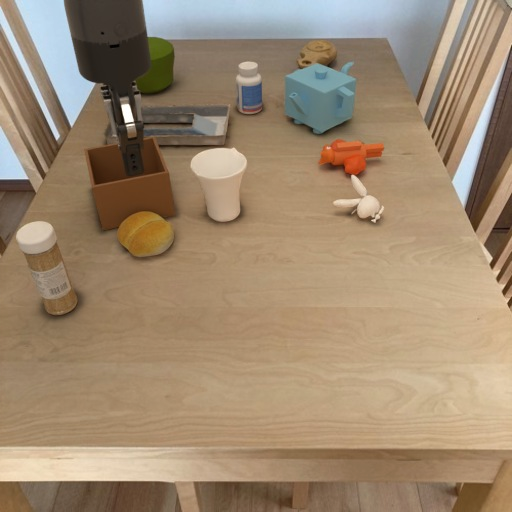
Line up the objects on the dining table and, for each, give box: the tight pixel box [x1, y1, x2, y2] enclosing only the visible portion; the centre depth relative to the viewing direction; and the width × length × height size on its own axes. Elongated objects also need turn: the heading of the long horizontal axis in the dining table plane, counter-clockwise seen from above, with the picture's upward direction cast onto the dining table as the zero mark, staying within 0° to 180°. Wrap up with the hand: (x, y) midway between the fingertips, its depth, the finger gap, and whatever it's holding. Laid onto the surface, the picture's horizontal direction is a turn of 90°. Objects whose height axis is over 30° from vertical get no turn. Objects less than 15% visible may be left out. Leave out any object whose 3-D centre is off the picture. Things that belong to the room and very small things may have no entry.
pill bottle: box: [235, 61, 263, 115], centre depth 117 cm, size 6×5×10 cm
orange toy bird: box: [318, 138, 385, 176], centre depth 101 cm, size 5×8×12 cm
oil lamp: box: [296, 39, 338, 69], centre depth 134 cm, size 11×14×5 cm
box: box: [83, 136, 176, 231], centre depth 93 cm, size 12×12×8 cm
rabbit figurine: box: [332, 174, 385, 224], centre depth 91 cm, size 6×4×8 cm
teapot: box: [284, 61, 358, 135], centre depth 112 cm, size 16×18×11 cm
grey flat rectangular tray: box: [102, 103, 232, 146], centre depth 113 cm, size 13×25×3 cm, turn 89°
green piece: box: [135, 36, 176, 95], centre depth 126 cm, size 12×12×11 cm
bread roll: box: [116, 211, 175, 258], centre depth 87 cm, size 8×9×4 cm
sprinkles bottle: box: [15, 220, 79, 316], centre depth 73 cm, size 5×5×13 cm
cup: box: [190, 147, 248, 223], centre depth 90 cm, size 9×9×10 cm
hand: (134, 172), depth 67 cm, fingers closed
